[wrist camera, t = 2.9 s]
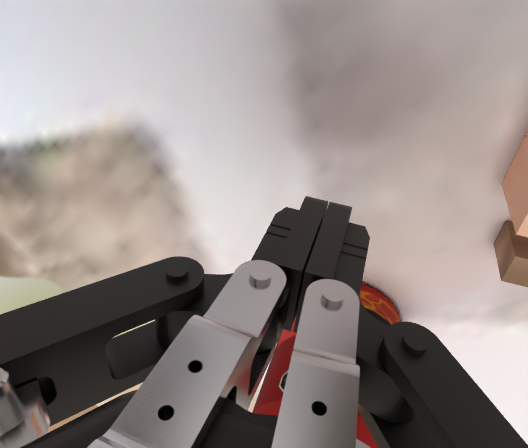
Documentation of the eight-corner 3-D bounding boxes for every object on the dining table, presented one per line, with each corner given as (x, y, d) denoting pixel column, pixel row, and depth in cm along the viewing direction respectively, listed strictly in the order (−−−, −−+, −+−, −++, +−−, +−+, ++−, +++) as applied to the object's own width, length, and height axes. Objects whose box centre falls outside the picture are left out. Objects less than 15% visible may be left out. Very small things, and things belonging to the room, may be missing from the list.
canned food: (429, 321, 28) (430, 500, 19) (352, 369, 33) (326, 528, 24) (335, 255, 27) (292, 411, 18) (271, 315, 32) (215, 459, 23)
